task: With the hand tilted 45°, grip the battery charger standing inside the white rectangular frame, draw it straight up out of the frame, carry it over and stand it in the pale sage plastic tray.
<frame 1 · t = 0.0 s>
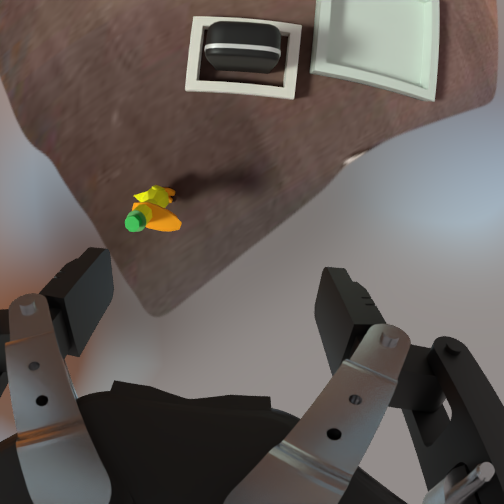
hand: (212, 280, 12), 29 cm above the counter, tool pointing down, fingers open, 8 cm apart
toy figure: (168, 194, 40), on the counter
battery charger: (243, 57, 33), resting in white rectangular frame
white rectangular frame: (243, 57, 33), on the counter
tray: (375, 30, 31), on the counter
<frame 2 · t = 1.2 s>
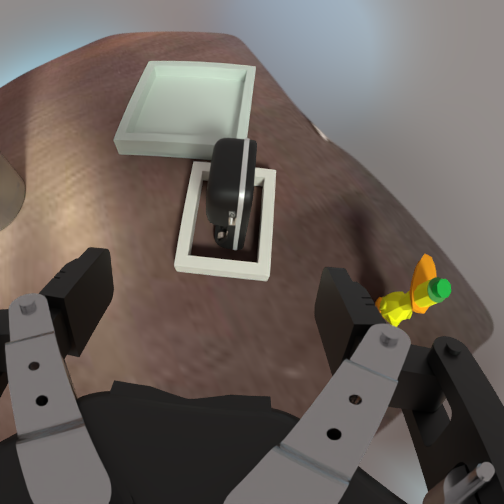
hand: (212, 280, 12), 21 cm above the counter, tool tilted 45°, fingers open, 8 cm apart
toy figure: (381, 307, 34), on the counter
battery charger: (227, 222, 36), resting in white rectangular frame
white rectangular frame: (227, 221, 35), on the counter
tray: (191, 111, 40), on the counter
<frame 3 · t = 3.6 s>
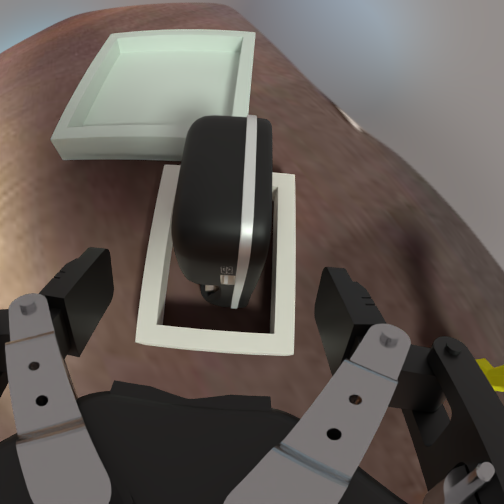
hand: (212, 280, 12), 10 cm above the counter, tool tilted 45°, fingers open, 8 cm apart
toy figure: (446, 372, 21), on the counter
battery charger: (221, 261, 22), resting in white rectangular frame
white rectangular frame: (221, 260, 22), on the counter
tray: (165, 94, 27), on the counter
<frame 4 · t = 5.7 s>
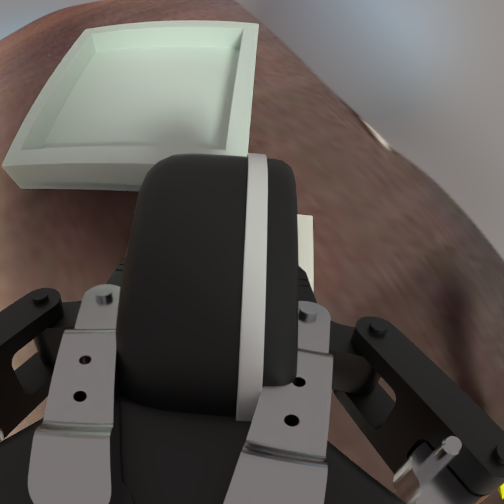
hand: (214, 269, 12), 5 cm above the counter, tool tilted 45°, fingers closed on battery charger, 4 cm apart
battery charger: (213, 333, 17), resting in white rectangular frame, touching gripper
white rectangular frame: (213, 333, 16), on the counter
tray: (145, 102, 22), on the counter
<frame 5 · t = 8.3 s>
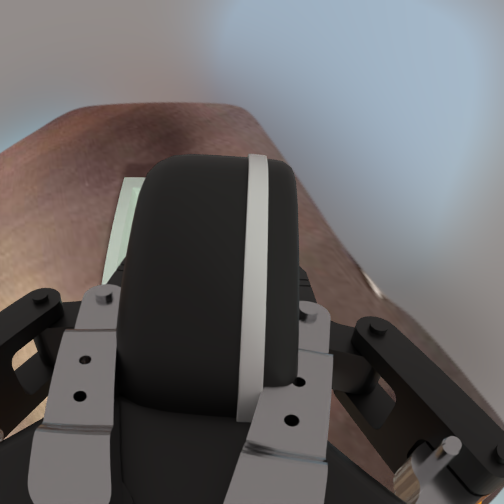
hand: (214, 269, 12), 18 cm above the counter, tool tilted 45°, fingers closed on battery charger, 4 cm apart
battery charger: (214, 334, 17), point 12 cm above the counter, touching gripper
tray: (195, 267, 31), on the counter
when the fingers open (7 cm above the counter, at t = 11.3 s): battery charger drops 1 cm, resting on tray.
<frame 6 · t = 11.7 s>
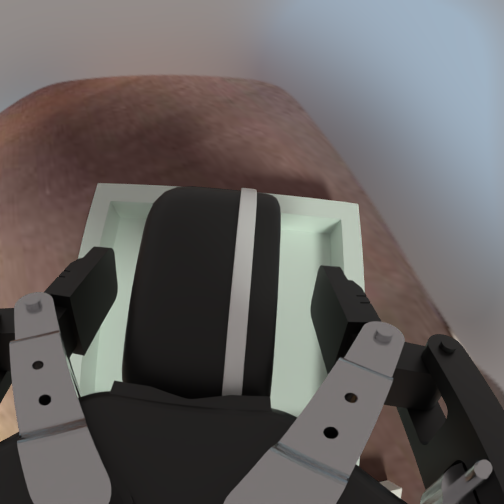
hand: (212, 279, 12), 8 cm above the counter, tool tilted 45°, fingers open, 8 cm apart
battery charger: (212, 337, 18), point 1 cm above the counter, touching tray
tray: (214, 336, 18), on the counter
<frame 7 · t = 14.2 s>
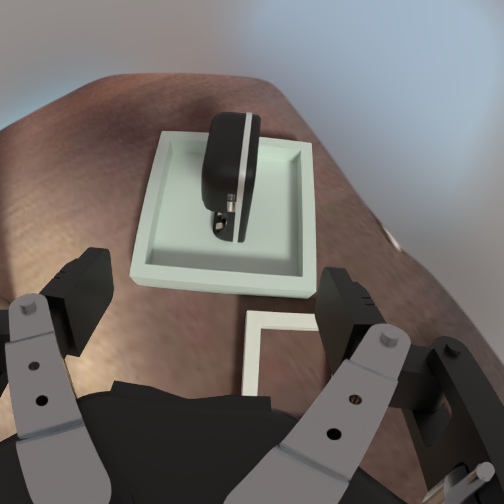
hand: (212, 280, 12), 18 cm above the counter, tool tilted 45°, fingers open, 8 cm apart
battery charger: (227, 212, 32), point 1 cm above the counter, touching tray
white rectangular frame: (294, 383, 27), on the counter
tray: (228, 214, 32), on the counter
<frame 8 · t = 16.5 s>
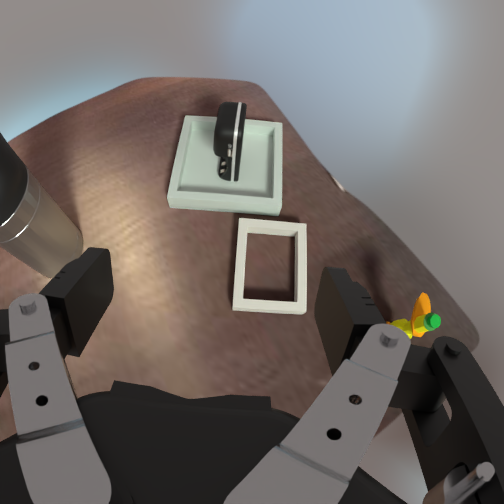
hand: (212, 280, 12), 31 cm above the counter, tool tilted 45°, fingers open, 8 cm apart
toy figure: (389, 328, 43), on the counter
battery charger: (227, 165, 49), point 1 cm above the counter, touching tray
white rectangular frame: (269, 267, 44), on the counter
tray: (228, 166, 50), on the counter
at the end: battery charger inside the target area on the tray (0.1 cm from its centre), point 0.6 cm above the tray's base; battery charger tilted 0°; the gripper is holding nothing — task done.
